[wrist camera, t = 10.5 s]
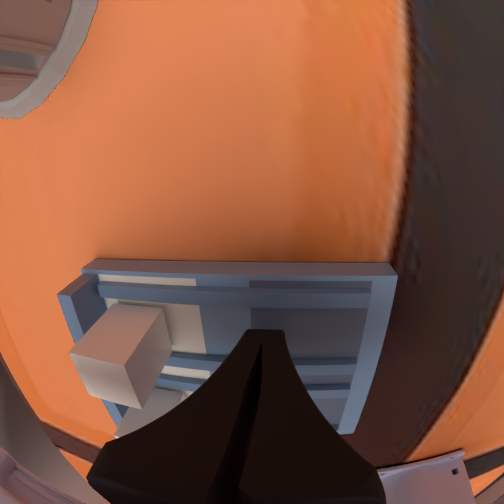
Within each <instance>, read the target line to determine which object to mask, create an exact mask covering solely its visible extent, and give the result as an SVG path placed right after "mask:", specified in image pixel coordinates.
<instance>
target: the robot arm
mask: <svg viewBox="0 0 504 504" xmlns="http://www.w3.org/2000/svg"><path fill="white" fill-rule="evenodd" d="M464 454H465V450H459V451H456V452H453V453H450V454H446V455H443V456H439V457H435V458H431V459H428V460H423V461H419V462H415V463H410V464H405V465H400V466H395V467H389V468H383V469H377V470H376V468H375V467H374V466H372V465H371V464H370V463H369V462H368V461H366V460H365V459H364V458H363V457H362V456H361V455H359V454H358V453H357V452H356V451H355V450H354V449H353V448H352V447H351V446H350V445H349V444H348V443H347V442H346V441H345V440H344V439H343V438H342V437H341V436H340V435H339V433H338V432H337V431H336V430H335V429H334V428H333V426H332V425H331V424H330V423H329V422H328V421H327V419H326V418H325V417H324V415H323V414H322V413H321V411H320V410H319V409H318V407H317V406H316V404H315V403H314V401H313V400H312V398H311V396H310V395H309V393H308V391H307V390H306V388H305V386H304V384H303V382H302V381H301V379H300V377H299V375H298V373H297V370H296V368H295V366H294V363H293V361H292V359H291V356H290V353H289V350H288V347H287V343H286V339H285V332H284V331H283V330H273V329H247V330H246V331H245V332H244V334H243V335H242V337H241V338H240V340H239V341H238V343H237V344H236V346H235V347H234V349H233V350H232V351H231V353H230V354H229V355H228V356H227V358H226V359H225V360H224V361H223V363H222V364H221V365H220V366H219V367H218V368H217V369H216V371H215V372H214V373H213V374H212V375H211V376H210V377H209V378H208V379H207V380H206V381H205V382H204V383H203V384H202V385H201V386H200V387H199V388H198V389H197V390H196V391H194V392H193V393H192V394H191V395H190V396H189V397H187V398H186V399H185V400H184V401H182V402H181V403H180V404H178V405H177V406H176V407H174V408H173V409H171V410H170V411H169V412H167V413H166V414H164V415H162V416H161V417H159V418H157V419H156V420H154V421H152V422H150V423H149V424H147V425H145V426H143V427H141V428H140V429H138V430H136V431H133V432H131V433H129V434H126V435H124V436H122V437H119V438H117V439H114V440H112V441H109V442H106V443H105V445H104V446H103V448H102V449H101V451H100V452H99V454H98V456H97V457H96V459H95V461H94V463H93V465H92V467H91V469H90V471H89V473H88V475H87V477H86V478H87V481H88V483H89V484H90V486H91V487H92V488H93V489H94V490H96V491H97V492H98V493H99V494H100V495H101V496H102V497H104V498H105V499H106V500H107V501H108V502H110V503H111V504H475V500H474V495H473V492H472V488H471V485H470V481H469V478H468V475H467V472H466V469H465V465H464V462H463V459H462V456H463V455H464ZM0 504H85V503H83V502H81V501H79V500H77V499H75V498H73V497H71V496H69V495H68V494H66V493H63V492H62V491H60V490H58V489H57V488H55V487H53V486H52V485H50V484H48V483H46V482H45V481H43V480H42V479H40V478H38V477H37V476H35V475H33V474H32V473H31V472H29V471H28V470H26V469H25V468H23V467H22V466H20V465H19V464H18V463H16V461H15V460H14V459H13V458H12V457H11V456H10V455H9V454H8V453H7V452H6V451H5V450H4V449H2V448H1V447H0ZM491 504H504V494H503V495H502V496H500V497H499V498H498V499H497V500H496V501H495V502H493V503H491Z"/></svg>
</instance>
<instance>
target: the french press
mask: <svg viewBox="0 0 504 504" xmlns="http://www.w3.org/2000/svg"><path fill="white" fill-rule="evenodd" d="M96 8H97V0H0V116H1V117H2V118H3V119H17V118H22V117H23V116H25V115H26V114H27V113H29V112H30V111H32V110H33V109H35V108H36V107H38V106H40V105H41V104H42V103H43V102H44V101H45V99H46V98H47V97H48V96H49V94H50V93H51V92H52V91H53V89H54V88H55V87H56V86H57V85H58V84H59V82H60V81H61V80H62V79H63V78H64V77H65V75H66V73H67V71H68V69H69V67H70V65H71V64H72V62H73V60H74V58H75V57H76V55H77V53H78V51H79V50H80V48H81V46H82V45H83V43H84V41H85V39H86V36H87V33H88V30H89V27H90V24H91V21H92V18H93V16H94V13H95V10H96Z"/></svg>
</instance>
